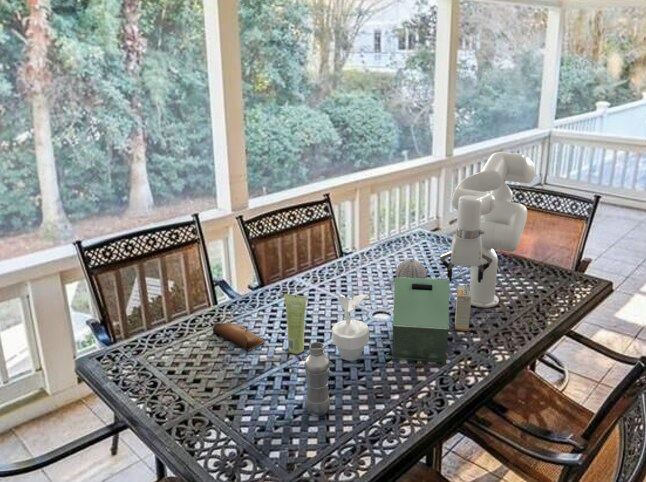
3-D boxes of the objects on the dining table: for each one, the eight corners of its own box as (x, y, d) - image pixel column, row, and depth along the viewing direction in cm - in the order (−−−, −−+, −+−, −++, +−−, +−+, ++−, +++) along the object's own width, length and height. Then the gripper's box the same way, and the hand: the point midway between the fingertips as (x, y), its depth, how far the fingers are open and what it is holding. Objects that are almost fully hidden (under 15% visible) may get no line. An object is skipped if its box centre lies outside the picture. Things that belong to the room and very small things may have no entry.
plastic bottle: (305, 404, 146) (303, 339, 140) (329, 403, 146) (329, 338, 141) (305, 420, 140) (303, 353, 134) (331, 418, 140) (330, 351, 134)
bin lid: (394, 277, 165) (394, 277, 160) (449, 279, 163) (450, 279, 158) (393, 324, 163) (392, 326, 158) (448, 327, 161) (449, 329, 156)
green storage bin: (393, 337, 179) (394, 305, 176) (444, 340, 177) (445, 308, 174) (392, 359, 167) (393, 326, 163) (446, 363, 165) (448, 329, 161)
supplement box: (469, 331, 183) (471, 296, 179) (454, 330, 184) (457, 295, 180) (468, 319, 191) (471, 286, 187) (454, 318, 192) (457, 285, 188)
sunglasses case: (266, 340, 177) (258, 328, 173) (253, 357, 174) (244, 346, 169) (231, 323, 188) (222, 312, 184) (218, 339, 185) (209, 328, 180)
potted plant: (342, 370, 161) (342, 295, 154) (326, 351, 171) (325, 280, 164) (378, 359, 167) (380, 286, 160) (360, 342, 177) (360, 272, 169)
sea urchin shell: (389, 281, 222) (389, 263, 220) (403, 270, 233) (404, 252, 231) (418, 288, 216) (419, 269, 213) (432, 276, 227) (432, 258, 224)
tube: (302, 344, 176) (300, 289, 170) (308, 351, 171) (306, 296, 166) (286, 348, 173) (283, 293, 168) (291, 356, 169) (289, 300, 163)
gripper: (493, 230, 180) (489, 277, 185) (440, 228, 182) (438, 274, 187) (496, 237, 173) (492, 286, 177) (441, 235, 175) (439, 283, 180)
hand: (464, 280), depth 182 cm, fingers open, 9 cm apart
